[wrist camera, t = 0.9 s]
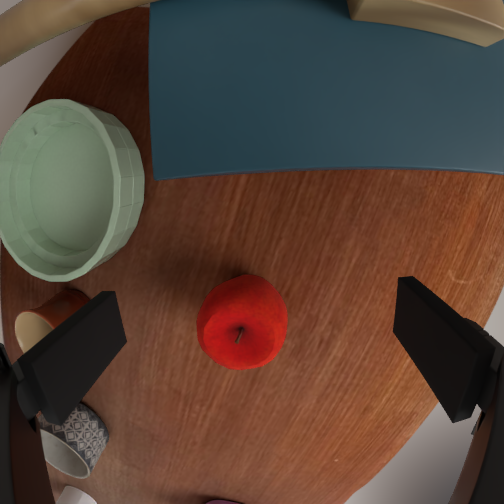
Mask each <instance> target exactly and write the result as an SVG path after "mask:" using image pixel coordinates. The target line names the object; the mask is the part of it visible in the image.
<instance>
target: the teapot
mask: <svg viewBox="0 0 504 504" xmlns="http://www.w3.org/2000/svg"><path fill="white" fill-rule="evenodd" d="M206 504H239V503H235V502H230V501H224V500H213V501H210V502H207V503H206Z"/></svg>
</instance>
